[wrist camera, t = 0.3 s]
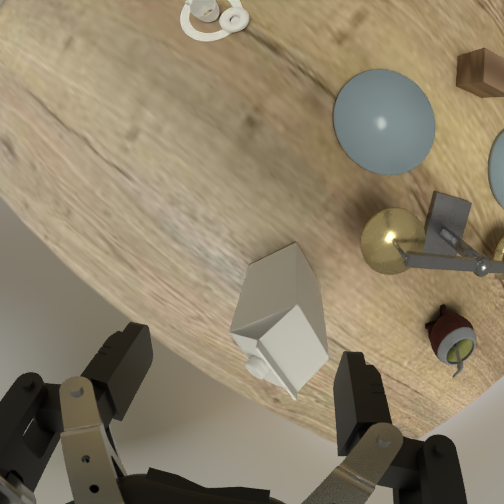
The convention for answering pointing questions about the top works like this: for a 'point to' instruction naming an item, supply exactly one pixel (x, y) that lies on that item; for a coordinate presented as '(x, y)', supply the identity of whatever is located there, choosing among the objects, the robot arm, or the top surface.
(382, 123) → the pale blue flat disc
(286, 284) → the milk carton
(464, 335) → the mate gourd
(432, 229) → the balance
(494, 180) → the dish
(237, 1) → the teacup and saucer
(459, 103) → the top surface
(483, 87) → the walnut block
